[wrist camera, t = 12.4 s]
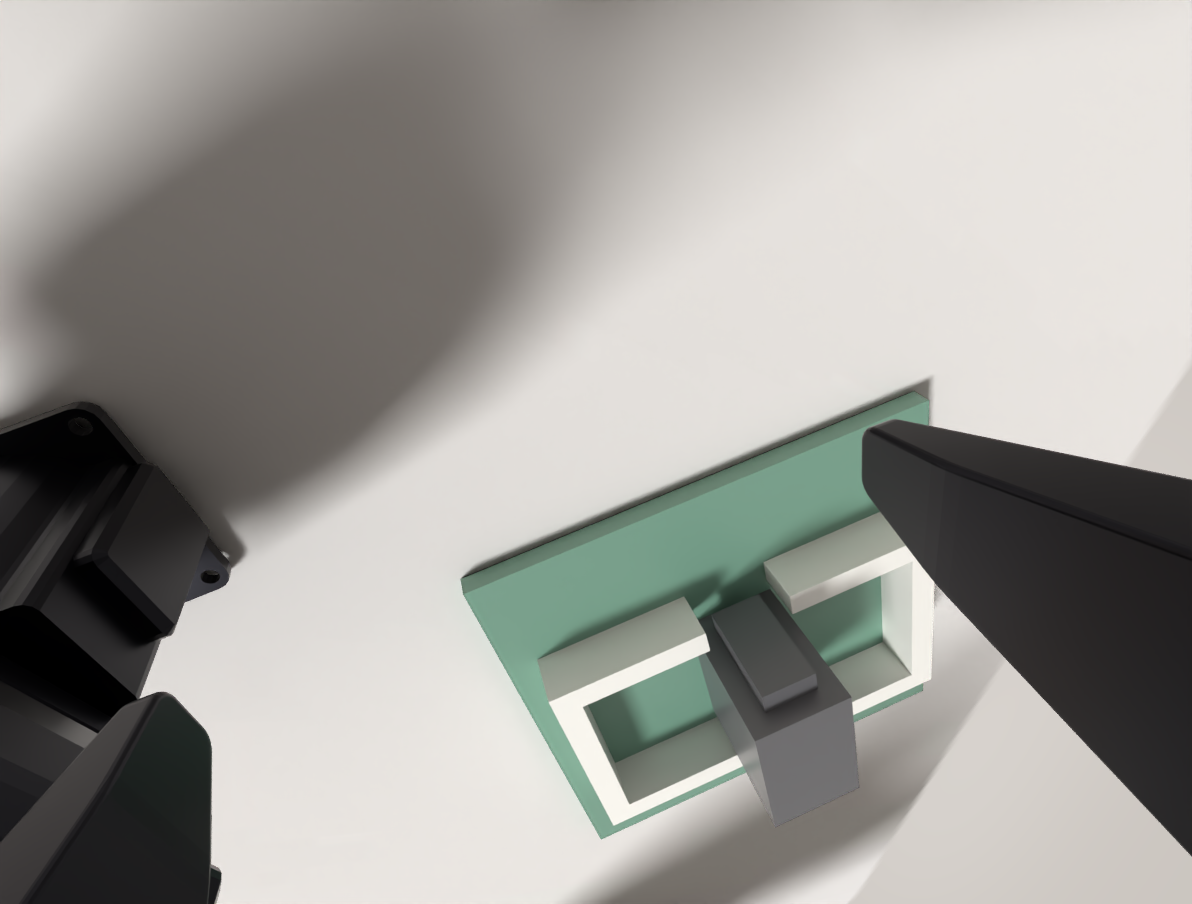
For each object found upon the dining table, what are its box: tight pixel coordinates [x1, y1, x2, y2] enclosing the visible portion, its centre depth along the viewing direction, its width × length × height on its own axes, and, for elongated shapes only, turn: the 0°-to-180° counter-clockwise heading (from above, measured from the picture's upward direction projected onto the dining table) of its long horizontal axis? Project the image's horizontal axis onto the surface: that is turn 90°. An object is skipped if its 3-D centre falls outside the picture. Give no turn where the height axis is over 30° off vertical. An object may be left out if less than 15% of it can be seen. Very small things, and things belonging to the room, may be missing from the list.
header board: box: [461, 391, 934, 839], centre depth 28 cm, size 18×18×3 cm
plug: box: [698, 589, 859, 827], centre depth 25 cm, size 4×7×6 cm, turn 16°
